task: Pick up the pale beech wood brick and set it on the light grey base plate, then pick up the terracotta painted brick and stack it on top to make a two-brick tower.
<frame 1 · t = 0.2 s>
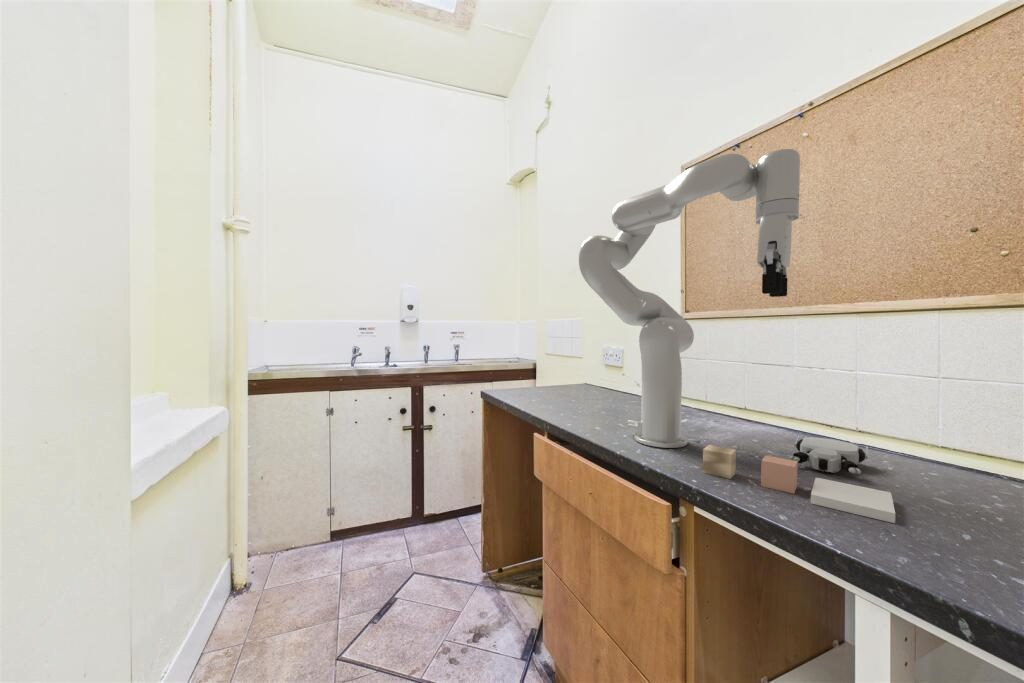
hand: (774, 294, 83), 36 cm above the table, tool pointing down, fingers open, 9 cm apart
base plate: (850, 502, 65), on the table
clay brick: (778, 486, 72), on the table
robot toy: (826, 467, 83), on the table
beech brick: (718, 473, 78), on the table
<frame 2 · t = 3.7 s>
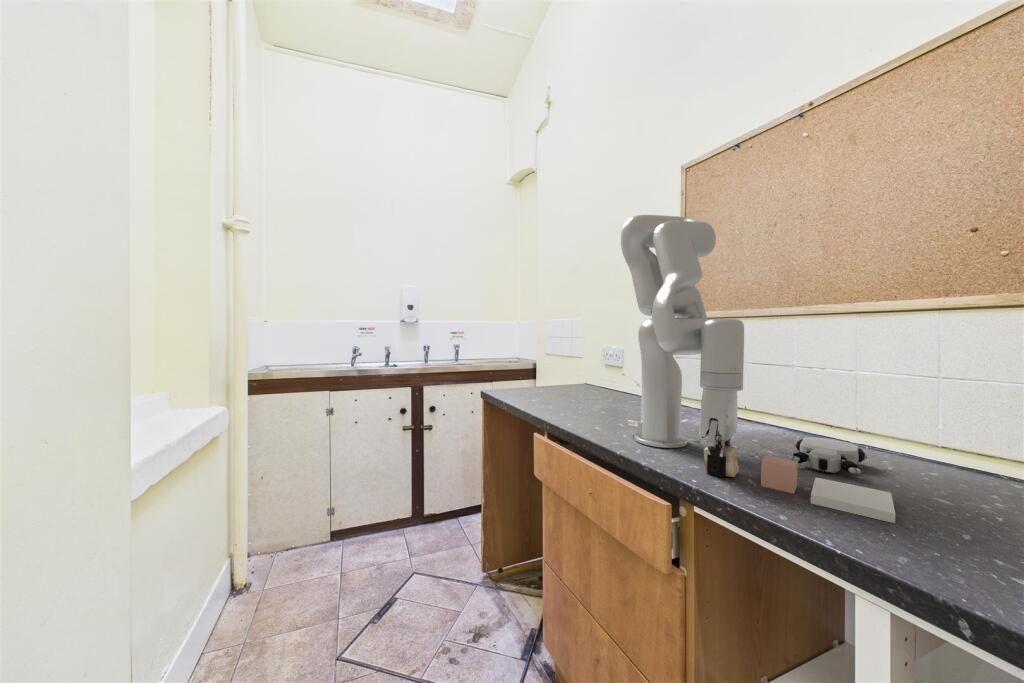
hand: (719, 471, 78), 0 cm above the table, tool pointing down, fingers closed on beech brick, 3 cm apart
beech brick: (722, 472, 78), on the table, tilted 7°, touching gripper
everything else where it was.
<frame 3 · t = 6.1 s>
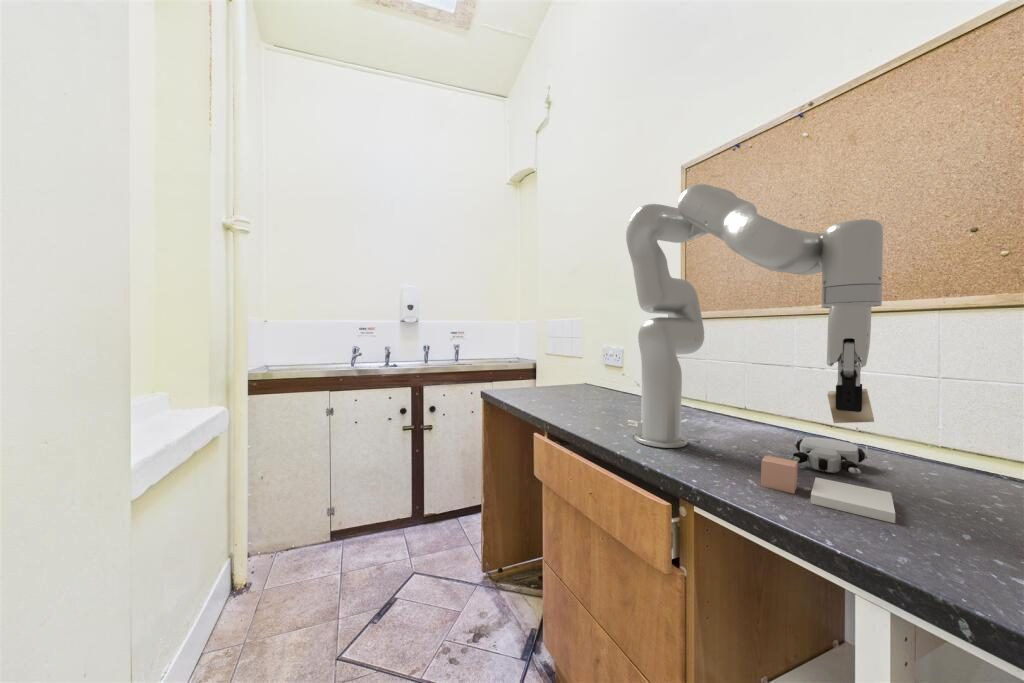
hand: (848, 407, 65), 16 cm above the table, tool pointing down, fingers closed on beech brick, 4 cm apart
beech brick: (853, 420, 65), point 14 cm above the table, tilted 11°, touching gripper
everything else where it was.
when the fingers open (3 cm above the table, at t = 8.9 s): beech brick stays where it is, resting on base plate.
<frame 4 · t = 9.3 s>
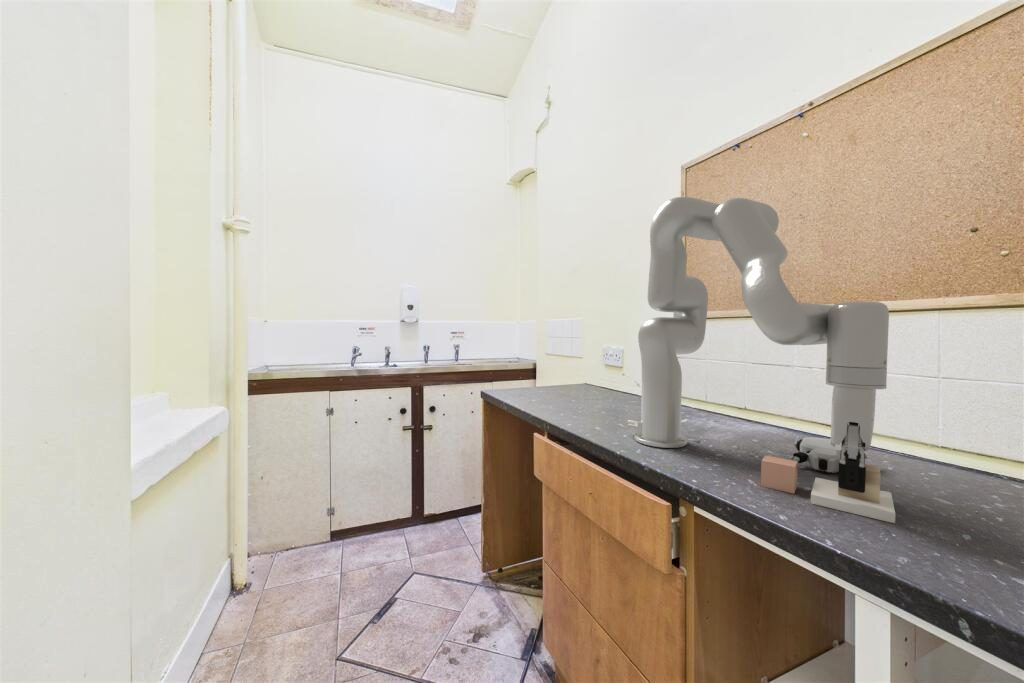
hand: (851, 481, 65), 4 cm above the table, tool pointing down, fingers open, 8 cm apart
beech brick: (858, 495, 65), point 1 cm above the table, touching base plate
everything else where it was.
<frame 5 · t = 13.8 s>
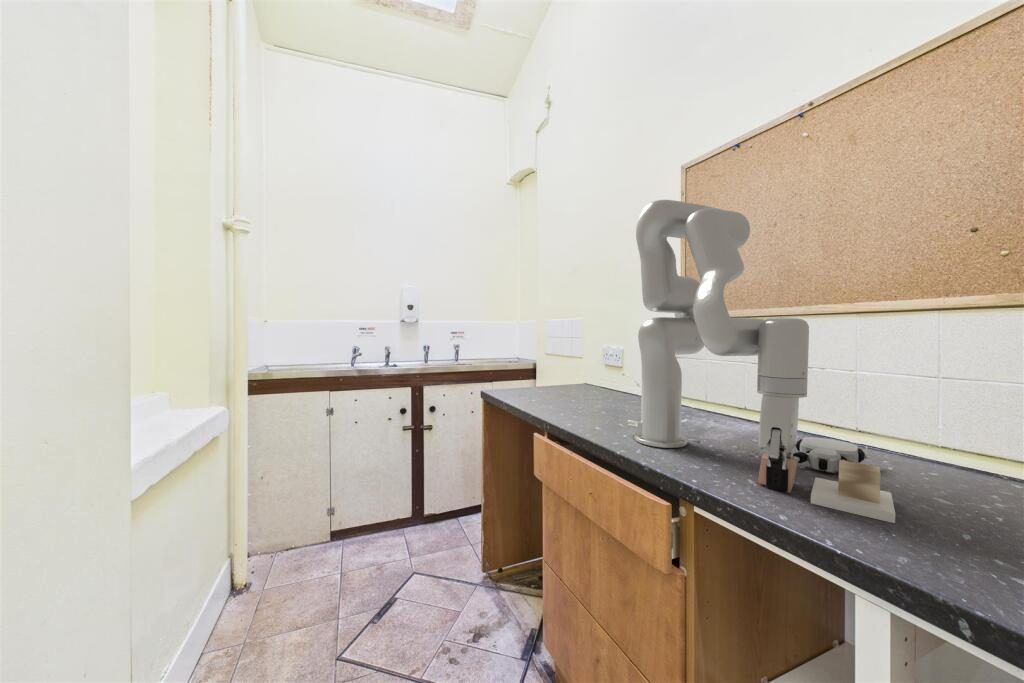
hand: (778, 484, 72), 0 cm above the table, tool pointing down, fingers closed on clay brick, 3 cm apart
clay brick: (775, 484, 72), on the table, tilted 6°, touching gripper
everything else where it was.
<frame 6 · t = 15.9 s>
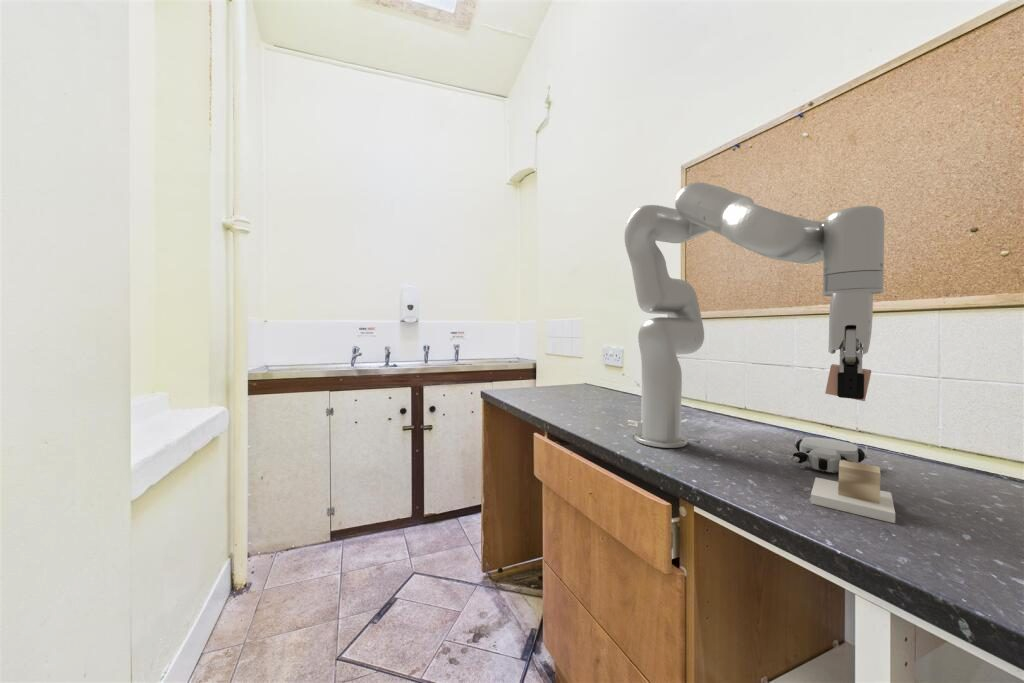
hand: (850, 395, 65), 18 cm above the table, tool pointing down, fingers closed on clay brick, 4 cm apart
clay brick: (844, 395, 65), point 18 cm above the table, tilted 8°, touching gripper
everything else where it was.
when the fingers open (8 cm above the table, at t = 18.0 s): clay brick drops 1 cm, resting on beech brick.
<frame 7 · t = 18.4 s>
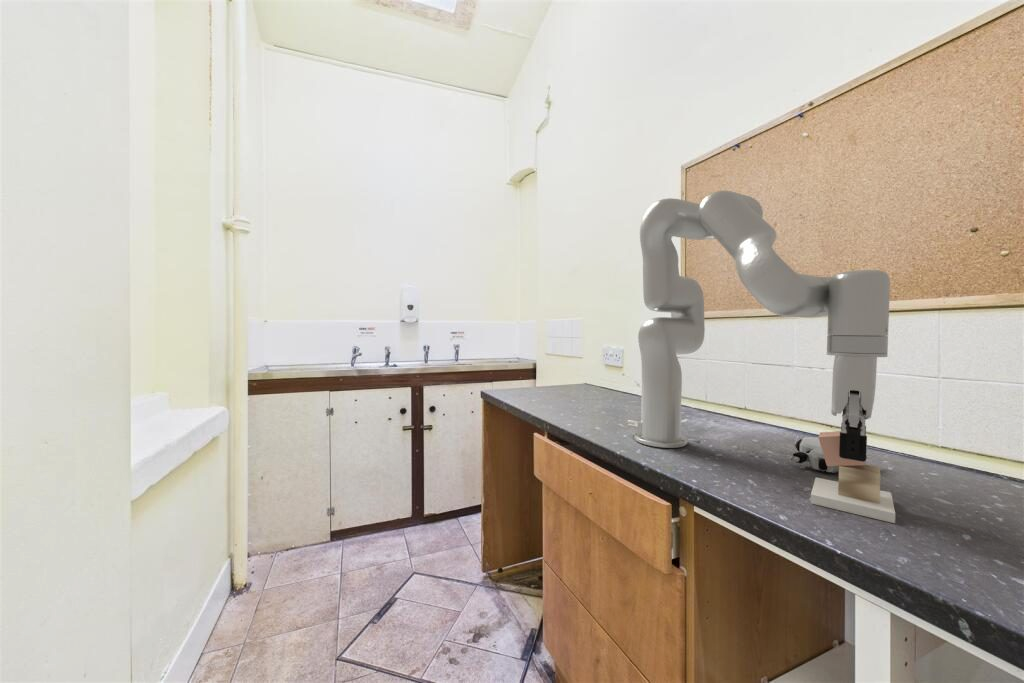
hand: (852, 452, 65), 8 cm above the table, tool pointing down, fingers open, 7 cm apart
clay brick: (846, 462, 66), point 7 cm above the table, tilted 15°, touching beech brick
beech brick: (858, 495, 65), point 1 cm above the table, touching base plate, clay brick
everything else where it was.
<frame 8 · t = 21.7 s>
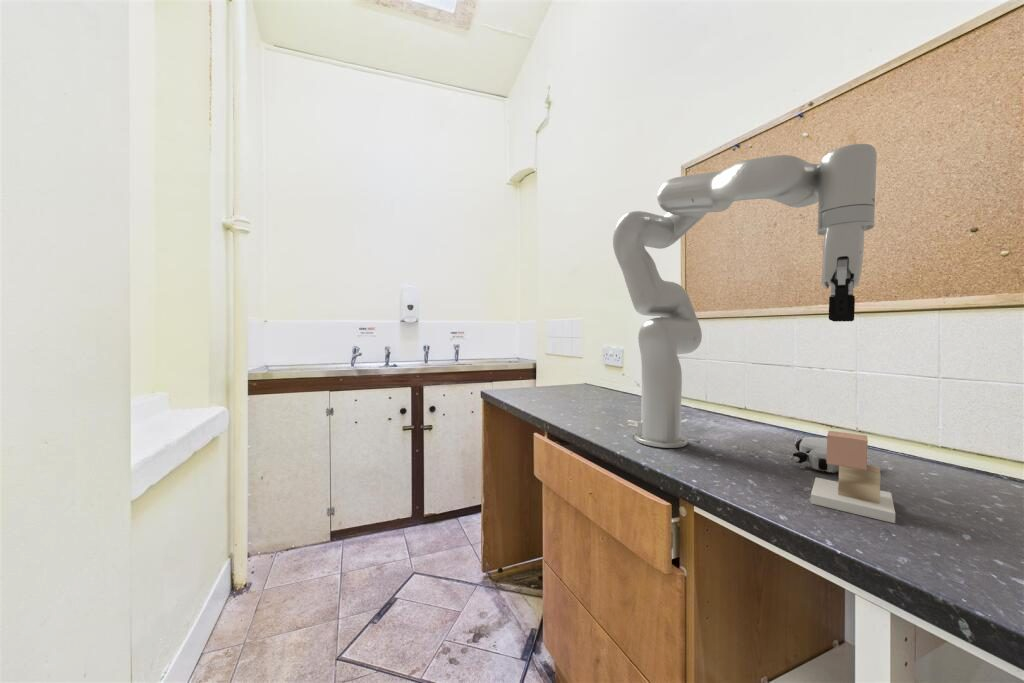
hand: (841, 320, 69), 30 cm above the table, tool pointing down, fingers open, 9 cm apart
clay brick: (846, 463, 66), point 6 cm above the table, touching beech brick
everything else where it was.
at the end: beech brick 0.9 cm off-centre on the base plate, point 1.5 cm above the base plate's base; clay brick 0.8 cm off-centre on the base plate, point 6.3 cm above the base plate's base; clay brick tilted 0° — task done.
